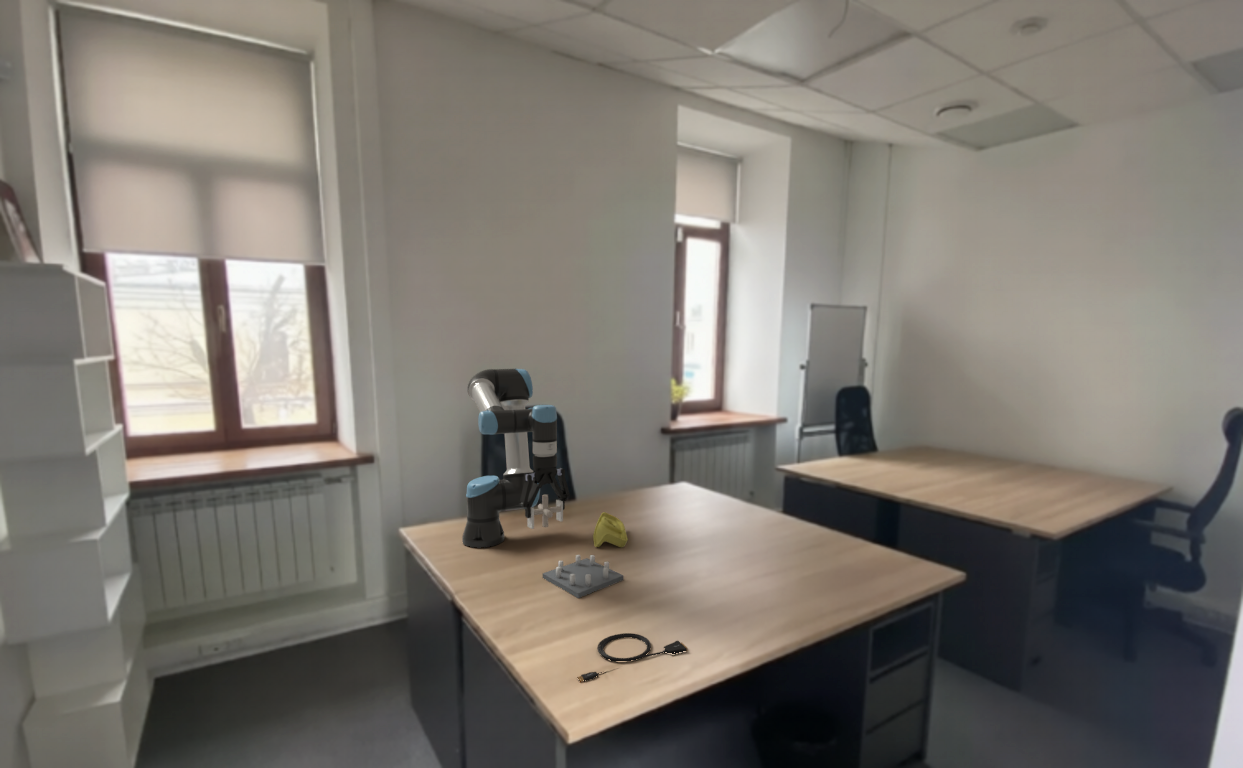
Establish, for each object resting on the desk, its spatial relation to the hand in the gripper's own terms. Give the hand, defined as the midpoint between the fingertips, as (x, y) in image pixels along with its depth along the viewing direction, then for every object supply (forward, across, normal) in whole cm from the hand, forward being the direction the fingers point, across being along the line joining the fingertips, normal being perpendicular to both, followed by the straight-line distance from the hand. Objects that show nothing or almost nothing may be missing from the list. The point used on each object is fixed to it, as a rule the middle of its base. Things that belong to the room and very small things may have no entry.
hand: (545, 523), depth 171 cm
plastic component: (+16, +36, +11) cm, 41 cm away
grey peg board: (+17, +7, -10) cm, 21 cm away
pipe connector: (+1, 0, 0) cm, 1 cm away
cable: (+18, -9, -48) cm, 52 cm away
